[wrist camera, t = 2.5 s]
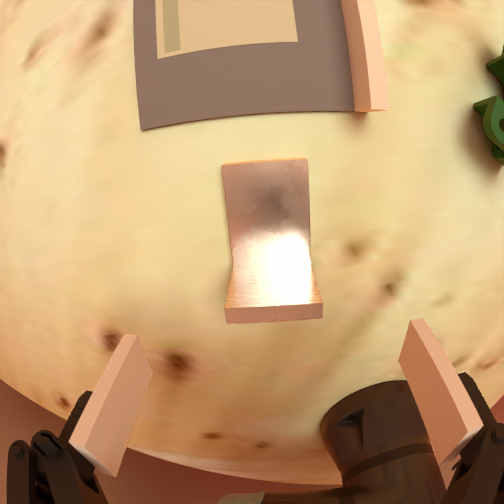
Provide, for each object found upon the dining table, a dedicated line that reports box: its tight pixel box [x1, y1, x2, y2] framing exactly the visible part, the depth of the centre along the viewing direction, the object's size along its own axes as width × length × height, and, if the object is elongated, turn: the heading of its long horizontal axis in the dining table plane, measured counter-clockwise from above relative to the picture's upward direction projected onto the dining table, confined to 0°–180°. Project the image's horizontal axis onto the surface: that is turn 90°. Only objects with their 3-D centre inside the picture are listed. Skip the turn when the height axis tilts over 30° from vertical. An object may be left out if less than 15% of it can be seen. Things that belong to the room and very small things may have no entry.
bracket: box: [222, 158, 323, 324], centre depth 19 cm, size 9×6×7 cm, turn 5°
